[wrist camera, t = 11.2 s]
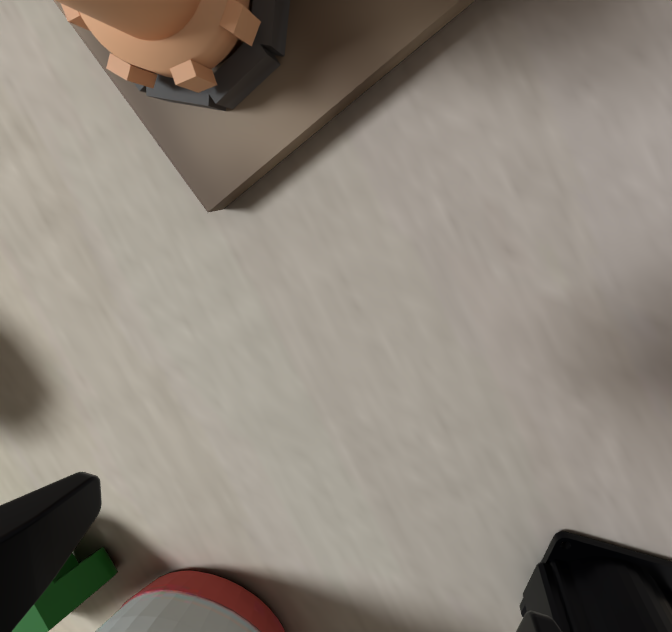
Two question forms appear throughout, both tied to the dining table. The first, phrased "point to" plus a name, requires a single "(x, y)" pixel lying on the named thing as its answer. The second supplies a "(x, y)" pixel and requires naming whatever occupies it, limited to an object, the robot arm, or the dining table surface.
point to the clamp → (68, 591)
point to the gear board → (276, 85)
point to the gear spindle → (166, 36)
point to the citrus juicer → (193, 607)
